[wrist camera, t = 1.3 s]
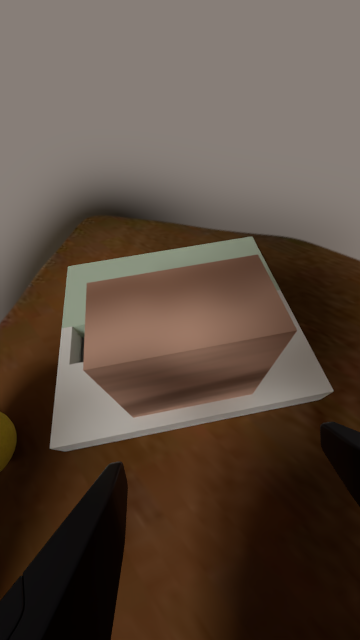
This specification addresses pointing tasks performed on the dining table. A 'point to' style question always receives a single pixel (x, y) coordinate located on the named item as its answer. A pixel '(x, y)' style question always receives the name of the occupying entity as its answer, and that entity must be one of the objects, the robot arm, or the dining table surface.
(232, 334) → the terracotta block
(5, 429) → the lemon
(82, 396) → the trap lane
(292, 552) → the dining table surface
